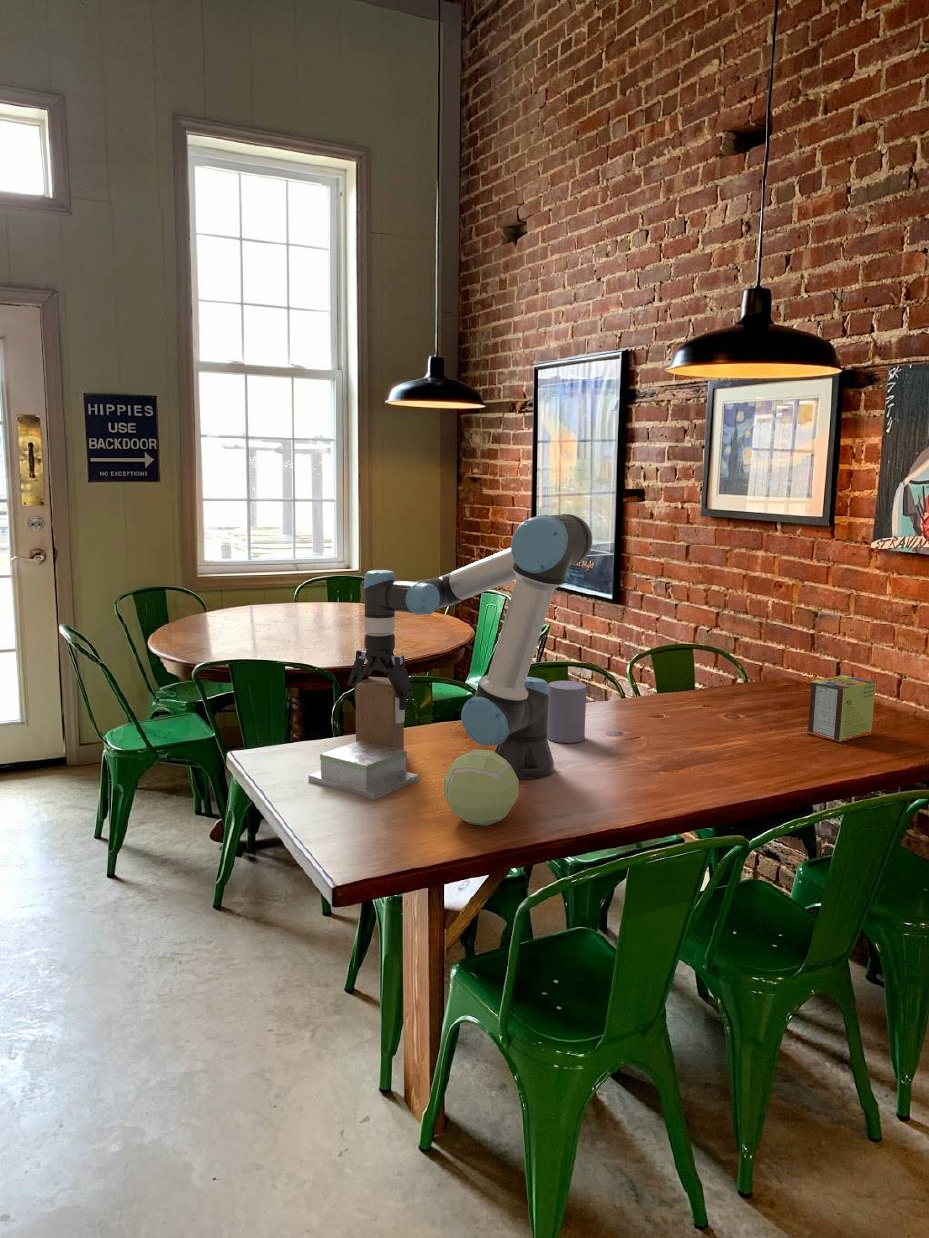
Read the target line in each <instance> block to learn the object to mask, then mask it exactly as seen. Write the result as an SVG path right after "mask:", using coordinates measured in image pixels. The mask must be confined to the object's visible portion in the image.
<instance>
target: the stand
mask: <svg viewBox="0 0 929 1238" xmlns="http://www.w3.org/2000/svg"><path fill="white" fill-rule="evenodd" d="M407 755H408V751H406V750H405V749H404V750H400V749H396V748H392V747H388V746H384V745H380V744H375V743H371V742H367V741H363V740H360V741H357V742H356V741H355V742H351V743H348V744H346V745H344V746H340V747H336V748H333V749H331V750H329V751H328V750H327V751H325V752H322V753H320V754H319V759H320V770H319V771H317V772H314V773H311V774H309V775H308V782H309V783H312V784H317V785H320V786H324V787H327V788H330V789H333V790H338V791H340V792H343V793H347V794H351V795H355V796H358V797H361V798H365V799H368V800H372V801H374V800H376V799H379V798H381V797H384V796H387V795H388V794H389V795H390V794H392V793H393V792H397V791H398V790H401V789H403V788H406V787H407V786H410V785H412V784H414V783H417V782H419V774H417V773H413V772H409V771H407Z"/></svg>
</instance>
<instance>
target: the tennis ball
mask: <svg viewBox="0 0 929 1238" xmlns="http://www.w3.org/2000/svg"><path fill="white" fill-rule="evenodd" d="M519 782H520V779H518V778H517V776H516V774H515V772H514V770H513V768H512V766H511V765H510V764H509V763H508V762H507V760H505V759H504V758H502V757H501V756H499V755H498V754H496V753H495V750H490V749H489V750H487V749H477V748H476V749H473V750H470V751H469V752H466V753H464V754H462V755H460V756H457V758H456V759H455V760H454V761H453V762H452V764H451V765H450V766H449V769H448V771H447V772H446V774H445V776H444V778H443V796H444V798H445V800H446V802H447V805H448V806H449V807H450V810H451V812H452V814H453V815H455V816H456V817H459V818H460V819H462V820H463V821H465V822H466V823H467V824H469V825H476V826H484V827H488V826H491V825H492V824H495V823H497V822H499V821H502V820H503V819H504V818H505V817H507V816H508V814H509V812H510V811H511V810H512V807H514V805H515V803H516V802H517V800H518V799H519V785H520V784H519Z"/></svg>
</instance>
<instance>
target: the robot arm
mask: <svg viewBox="0 0 929 1238" xmlns="http://www.w3.org/2000/svg"><path fill="white" fill-rule="evenodd" d="M592 546H593V535H592V531H591V527H590V526H589V525H588V524H587V522H586V521H585V520H583V519H582V518H581V517H579V516H577V515H574V514H570V513H563V514H555V515H554V514H552V515H551V514H550V515H549V514H542V515H537V516H533V517H531V518H529V519H526V520H524V521H522V523H521V524H519V526H518V527H516V529H515V531H514V532H513V534H512V538H511V541H510V547H509V548H506V549H504V550H502V551H498V552H497V553H494V554H493V555H492V554H491V555H490V556H487V557H485V558H482V559H480V560H477V561H475V562H473V563H470V564H468V565H466V566H463V567H461V568H457V569H456V570H452V571H451V572H448V573H446V574H444V575H440V576H437V577H434V578H428V579H421V580H415V581H405V580H396V575H395V572H394V571H392V570H386V569H374V570H373V569H372V570H368V571H367V572H365V574H364V581H363V588H362V589H363V600H364V604H363V605H364V615H363V617H364V620H363V621H364V622H363V623H364V627H363V628H364V629H363V631H364V632H365V634H364V638H363V639H364V645H363V646H364V648H363V649H359V650H356V651H355V660H354V662H353V665H352V669H351V671H350V674H349V677H348V681H347V685H348V686H351V687H352V688H353V696H354V697H353V699H354V702H356V685H357V684H359V683H360V682H361V681H363V680H364V679H366V678H368V677H371V675H372V673H373V672H374V671H379V672H383V674H384V675H385V676H387V677H386V678H388V679H389V680H390V682H391V684H392V685H393V686H394V687H395V691H396V693H397V695H398V696H397V697H395V723H397V724H398V723H401V722H404V723H405V719H406V718H405V716H406V715H405V713H406V712H405V711H406V710H407V708H408V707H407V706H408V705H407V704H408V702H407V698H408V697H409V696H411V695H414V693H415V692H414V688H413V685H412V683H411V680H410V677H409V674H408V669H407V667H406V664H405V663H406V662H405V655H395V654H394V650H395V648H396V635H395V634H394V632H396V617H395V616H396V612H399V613H407V614H413V615H417V616H421V615H429V616H430V615H432V614H434V613H435V611H436V610H437V609H440V608H445V607H452V606H455V605H457V604H459V603H461V602H462V601H464V600H467V599H469V598H472V597H475V596H478V595H480V594H482V593H484V592H487V591H490V590H494V589H496V588H498V587H500V586H503V585H506V584H509V583H511V582H513V581H515V583H514V586H513V590H512V593H511V596H510V599H509V603H508V606H507V610H506V614H505V617H504V620H503V623H502V627H501V631H500V633H499V637H498V640H497V644H496V647H495V650H494V654H493V656H492V660H491V663H490V667H489V670H488V673H487V674H486V675H484V676H481V677H480V679H479V681H478V684H477V687H476V689H475V690H476V691H475V693H474V694H475V695H474V696H473V697H470V698H469V699H467V701H466V702H465V703H464V705H463V707H462V710H461V714H460V716H461V717H460V718H461V724H462V726H463V728H464V730H465V733H466V734H467V736H468V737H469V738H470V739H471V740H472V741H474V742H475V743H476V744H479V745H481V746H485V747H491V746H496V747H495V750H494V752H495V753H496V754H498V755H499V756H501V757H502V758H504V759H505V760H507V762H508V763H509V764H510V765H511V766H512V768H513V770H514V772H515V774H516V776H517V778H518V780H535V779H542V778H546V777H549V776H550V775H552V774H553V773H554V769H555V768H554V767H555V762H554V761H555V760H554V757H553V755H552V752H551V748H550V745H549V741H548V740H549V739H548V738H547V733H548V706H549V686H548V684H549V683H548V682H547V681H546V680H545V679H543V678H539V677H538V678H537V677H532V676H528V674H529V671H530V667H531V665H532V662H533V658H534V656H535V652H536V649H537V646H538V643H539V639H540V637H541V633H542V630H543V627H544V625H545V621H546V617H547V613H548V611H549V608H550V606H551V605H550V604H551V601H552V597H553V594H554V592H555V590H556V589H558V588H560V587H561V586H563V585H564V583H565V579H566V577H567V574H568V570H569V567H572V566H576V565H577V564H579V563H581V562H582V561H584V560H585V559H586V558H587V557H588V555H589V554H590V552H591V549H592Z"/></svg>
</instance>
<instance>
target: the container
mask: <svg viewBox="0 0 929 1238" xmlns="http://www.w3.org/2000/svg"><path fill="white" fill-rule="evenodd" d="M548 686H549V706H548V733H547V740H550V741H552V742H554V743H559V744H576V743H580V742H582V741H584V740H585V735H586V734H585V733H586V709H587V684H585V683H584V682H579V681H574V680H555V681H550V682H549V683H548Z"/></svg>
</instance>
